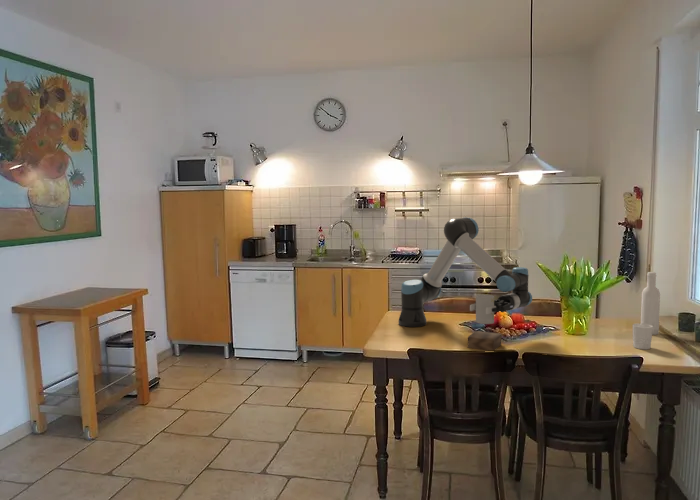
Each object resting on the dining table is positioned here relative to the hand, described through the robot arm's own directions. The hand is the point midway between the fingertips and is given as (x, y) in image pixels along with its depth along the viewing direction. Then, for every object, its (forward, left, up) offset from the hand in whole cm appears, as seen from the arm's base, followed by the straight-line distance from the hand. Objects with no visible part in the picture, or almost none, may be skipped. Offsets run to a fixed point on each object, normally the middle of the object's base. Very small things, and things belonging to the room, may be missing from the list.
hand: (478, 309), depth 235 cm
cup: (+2, +4, -7) cm, 8 cm away
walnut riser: (+2, +4, -18) cm, 18 cm away
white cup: (+64, +34, -18) cm, 75 cm away
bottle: (+66, +63, -18) cm, 93 cm away
